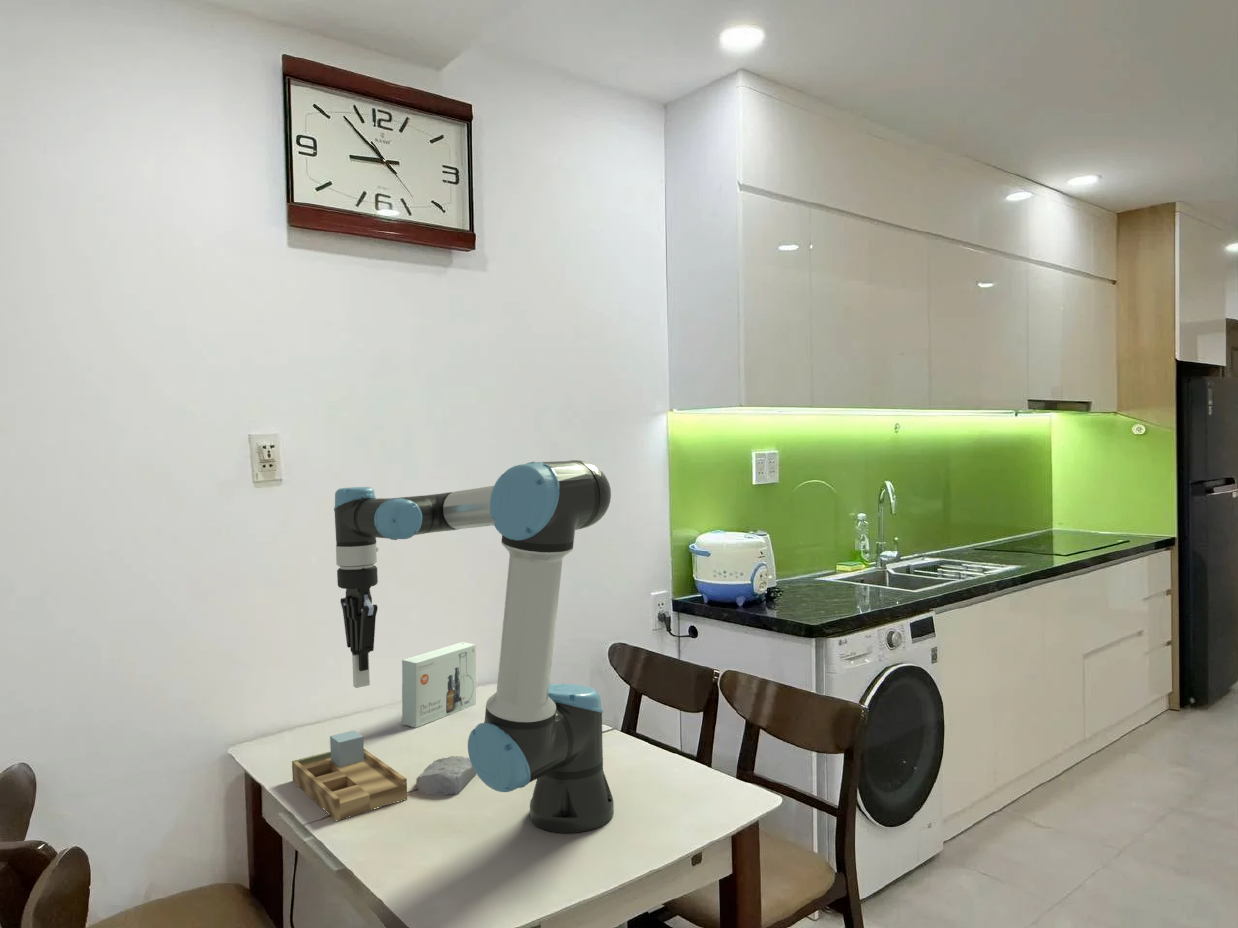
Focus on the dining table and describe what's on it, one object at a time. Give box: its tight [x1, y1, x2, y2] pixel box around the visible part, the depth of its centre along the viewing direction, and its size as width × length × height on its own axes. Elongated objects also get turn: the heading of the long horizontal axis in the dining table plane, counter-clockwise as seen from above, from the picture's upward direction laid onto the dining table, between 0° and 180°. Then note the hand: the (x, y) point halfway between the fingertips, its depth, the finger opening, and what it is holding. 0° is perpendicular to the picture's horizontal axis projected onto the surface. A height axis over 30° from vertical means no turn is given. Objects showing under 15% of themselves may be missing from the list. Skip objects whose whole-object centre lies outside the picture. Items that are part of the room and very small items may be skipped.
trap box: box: [291, 748, 408, 821], centre depth 165 cm, size 24×14×4 cm, turn 39°
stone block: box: [415, 755, 477, 795], centre depth 168 cm, size 12×5×10 cm
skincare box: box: [401, 641, 477, 729], centre depth 209 cm, size 21×6×16 cm, turn 147°
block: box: [329, 729, 365, 767], centre depth 172 cm, size 5×5×5 cm
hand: (361, 685), depth 166 cm, fingers closed
